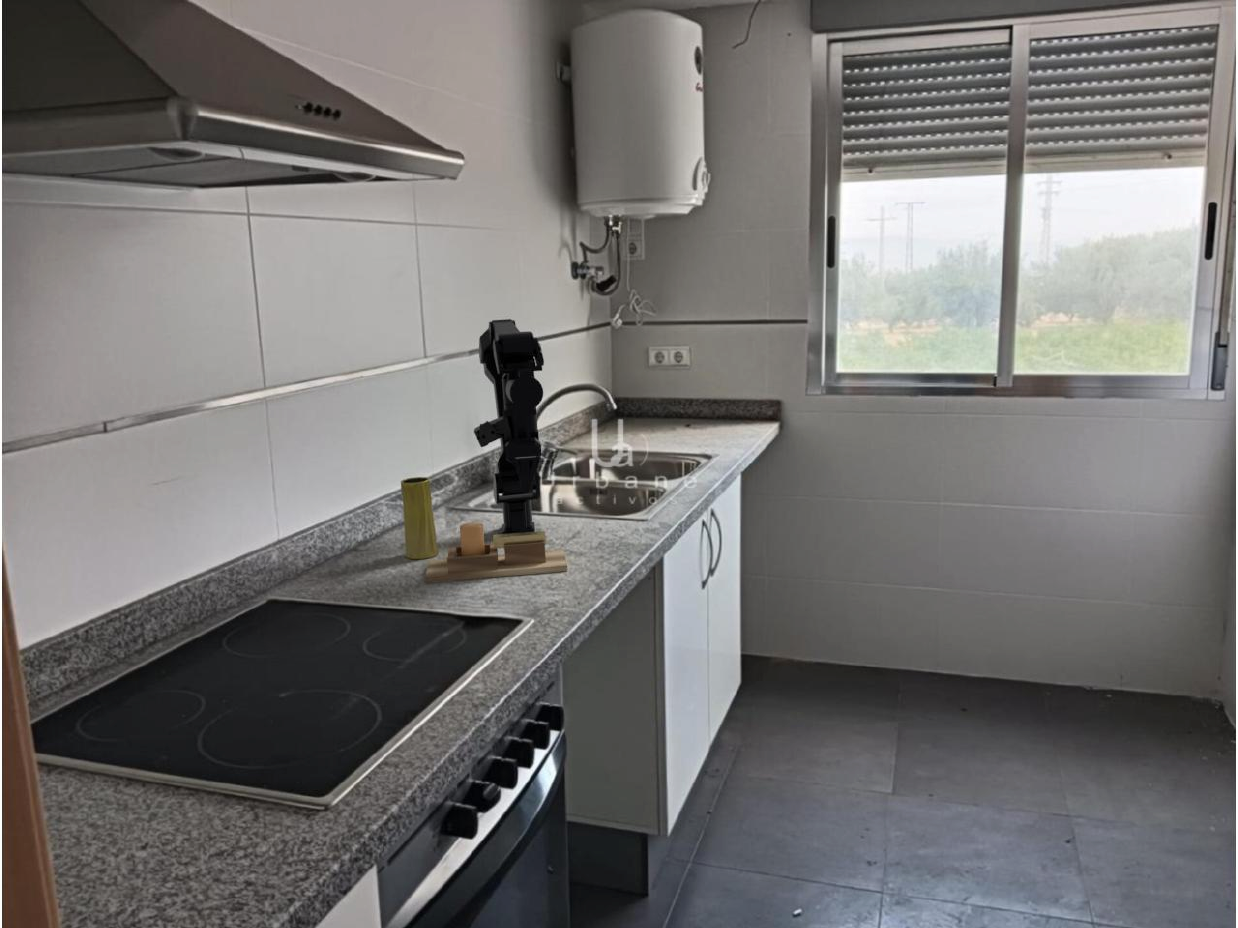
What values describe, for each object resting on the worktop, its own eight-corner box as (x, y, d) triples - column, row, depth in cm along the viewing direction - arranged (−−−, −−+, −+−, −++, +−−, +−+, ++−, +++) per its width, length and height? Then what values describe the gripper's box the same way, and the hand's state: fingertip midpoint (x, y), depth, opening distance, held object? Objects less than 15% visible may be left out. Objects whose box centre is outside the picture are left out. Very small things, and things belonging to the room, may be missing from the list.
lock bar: (494, 545, 174) (493, 534, 173) (545, 541, 175) (544, 530, 174) (494, 548, 172) (493, 537, 171) (546, 544, 173) (545, 533, 172)
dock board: (430, 565, 177) (427, 541, 176) (564, 554, 180) (562, 530, 179) (425, 582, 167) (423, 557, 167) (567, 570, 170) (565, 545, 169)
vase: (399, 555, 185) (392, 480, 182) (428, 548, 189) (421, 475, 186) (415, 561, 180) (408, 485, 177) (445, 554, 184) (438, 479, 181)
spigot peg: (462, 561, 175) (460, 523, 173) (485, 560, 175) (483, 521, 174) (462, 568, 171) (459, 529, 169) (485, 566, 171) (482, 527, 170)
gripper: (476, 399, 186) (482, 480, 189) (472, 412, 168) (480, 502, 171) (535, 395, 187) (540, 476, 190) (538, 408, 169) (544, 497, 172)
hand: (525, 487), depth 181 cm, fingers open, 9 cm apart
